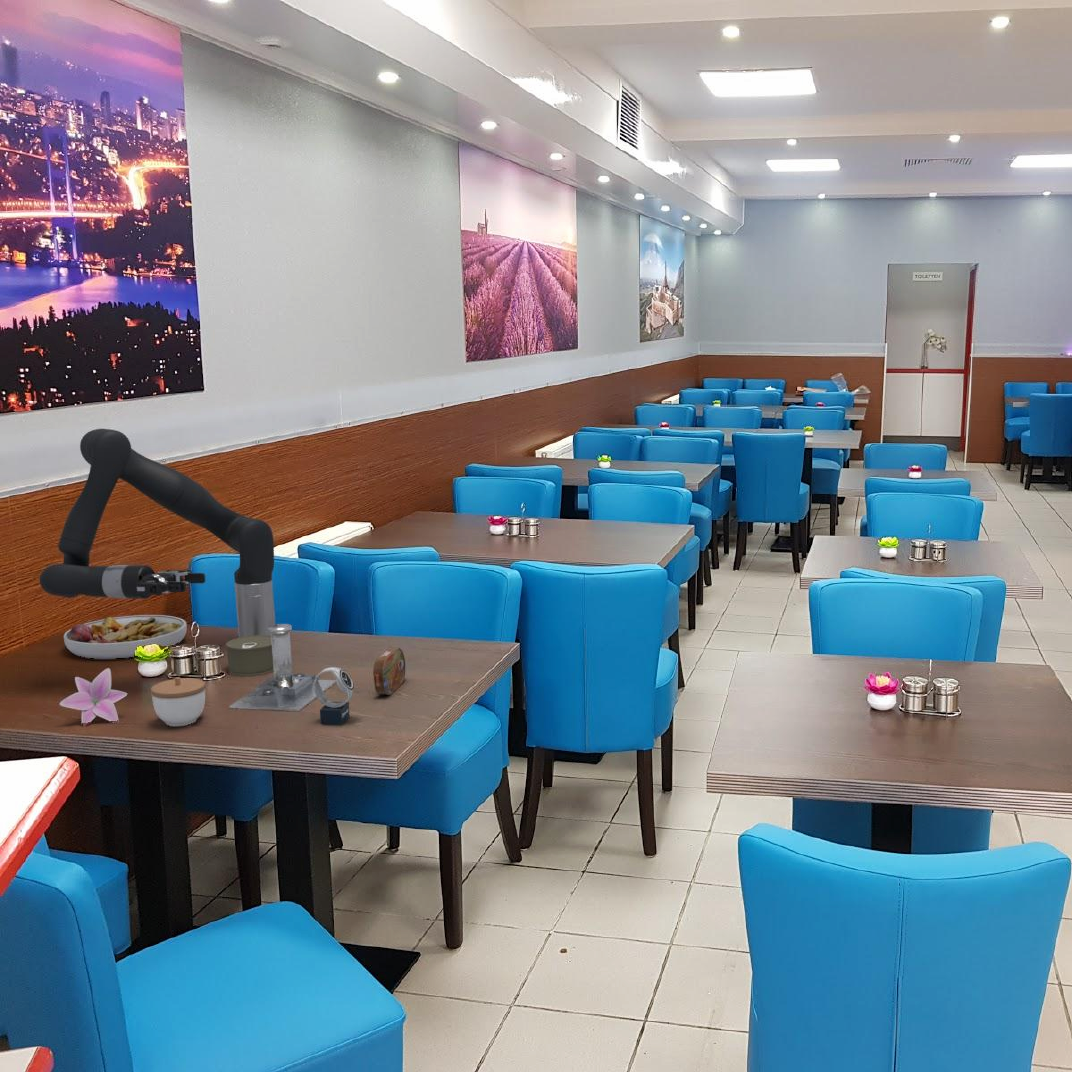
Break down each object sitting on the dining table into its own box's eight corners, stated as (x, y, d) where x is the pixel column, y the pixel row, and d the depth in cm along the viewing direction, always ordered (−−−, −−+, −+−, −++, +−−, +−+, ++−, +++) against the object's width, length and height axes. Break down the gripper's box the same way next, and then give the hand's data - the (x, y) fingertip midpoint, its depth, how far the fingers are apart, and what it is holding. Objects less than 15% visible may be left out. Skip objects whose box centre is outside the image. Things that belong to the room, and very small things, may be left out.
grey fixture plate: (271, 679, 270) (270, 665, 269) (336, 682, 267) (335, 667, 266) (229, 708, 250) (228, 692, 249) (299, 711, 246) (298, 695, 246)
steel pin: (278, 689, 261) (274, 623, 259) (299, 690, 260) (295, 624, 257) (268, 695, 256) (264, 629, 254) (290, 696, 255) (285, 630, 253)
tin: (386, 700, 253) (384, 662, 251) (372, 699, 253) (370, 661, 252) (407, 679, 267) (405, 643, 266) (394, 679, 268) (392, 643, 266)
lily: (54, 730, 242) (56, 697, 237) (77, 693, 252) (80, 660, 246) (111, 745, 243) (114, 713, 237) (132, 708, 253) (136, 675, 247)
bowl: (161, 626, 324) (159, 599, 323) (206, 647, 301) (204, 617, 300) (49, 647, 306) (46, 617, 305) (88, 670, 283) (85, 639, 282)
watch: (350, 725, 237) (347, 672, 235) (312, 724, 238) (309, 672, 236) (358, 716, 242) (356, 665, 240) (321, 715, 243) (318, 664, 241)
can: (284, 662, 285) (283, 634, 284) (272, 676, 273) (270, 647, 272) (235, 663, 285) (233, 635, 284) (221, 677, 273) (219, 649, 272)
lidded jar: (175, 733, 235) (171, 688, 233) (143, 724, 241) (139, 680, 239) (218, 719, 243) (215, 675, 241) (186, 710, 249) (183, 667, 248)
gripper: (109, 572, 254) (177, 572, 251) (144, 558, 268) (209, 559, 264) (112, 605, 255) (180, 606, 252) (147, 590, 269) (212, 591, 266)
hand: (195, 582), depth 258 cm, fingers open, 8 cm apart
